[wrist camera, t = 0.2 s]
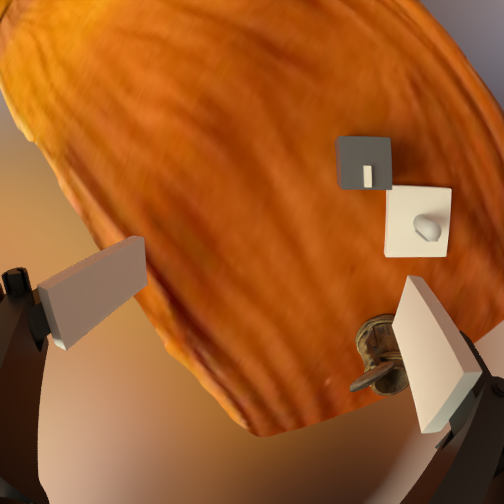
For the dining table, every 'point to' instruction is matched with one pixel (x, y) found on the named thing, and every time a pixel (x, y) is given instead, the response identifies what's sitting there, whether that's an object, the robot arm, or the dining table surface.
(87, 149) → the dining table surface
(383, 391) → the wooden mug
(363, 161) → the grey rectangular block
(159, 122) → the dining table surface
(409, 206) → the white peg base
